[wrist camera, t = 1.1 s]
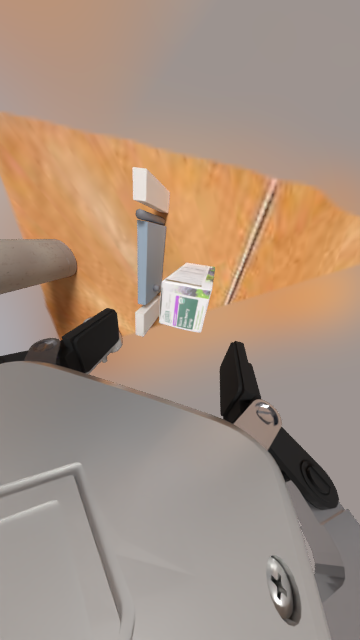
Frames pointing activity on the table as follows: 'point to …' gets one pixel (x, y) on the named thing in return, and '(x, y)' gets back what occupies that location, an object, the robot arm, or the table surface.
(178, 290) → the syrup box
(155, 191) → the wall
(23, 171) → the table surface
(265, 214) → the table surface
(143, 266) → the door
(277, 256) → the table surface
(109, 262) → the table surface
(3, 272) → the thermos bottle
